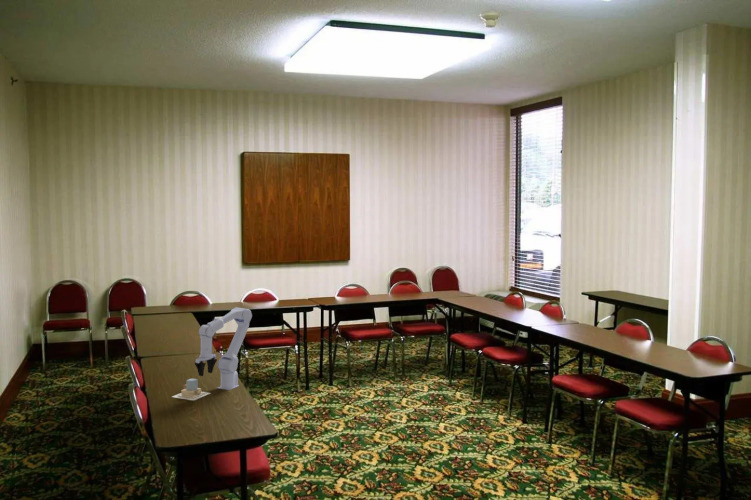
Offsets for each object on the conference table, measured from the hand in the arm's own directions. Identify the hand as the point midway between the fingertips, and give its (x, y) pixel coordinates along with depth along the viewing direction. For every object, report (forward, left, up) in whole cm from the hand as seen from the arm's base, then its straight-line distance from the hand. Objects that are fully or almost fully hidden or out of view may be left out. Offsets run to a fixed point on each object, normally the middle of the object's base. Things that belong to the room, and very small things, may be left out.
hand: (205, 374), depth 332 cm
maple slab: (+5, -5, -10) cm, 12 cm away
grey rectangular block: (+5, -4, -7) cm, 10 cm away
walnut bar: (-3, -12, -10) cm, 16 cm away
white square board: (+5, -5, -10) cm, 13 cm away
